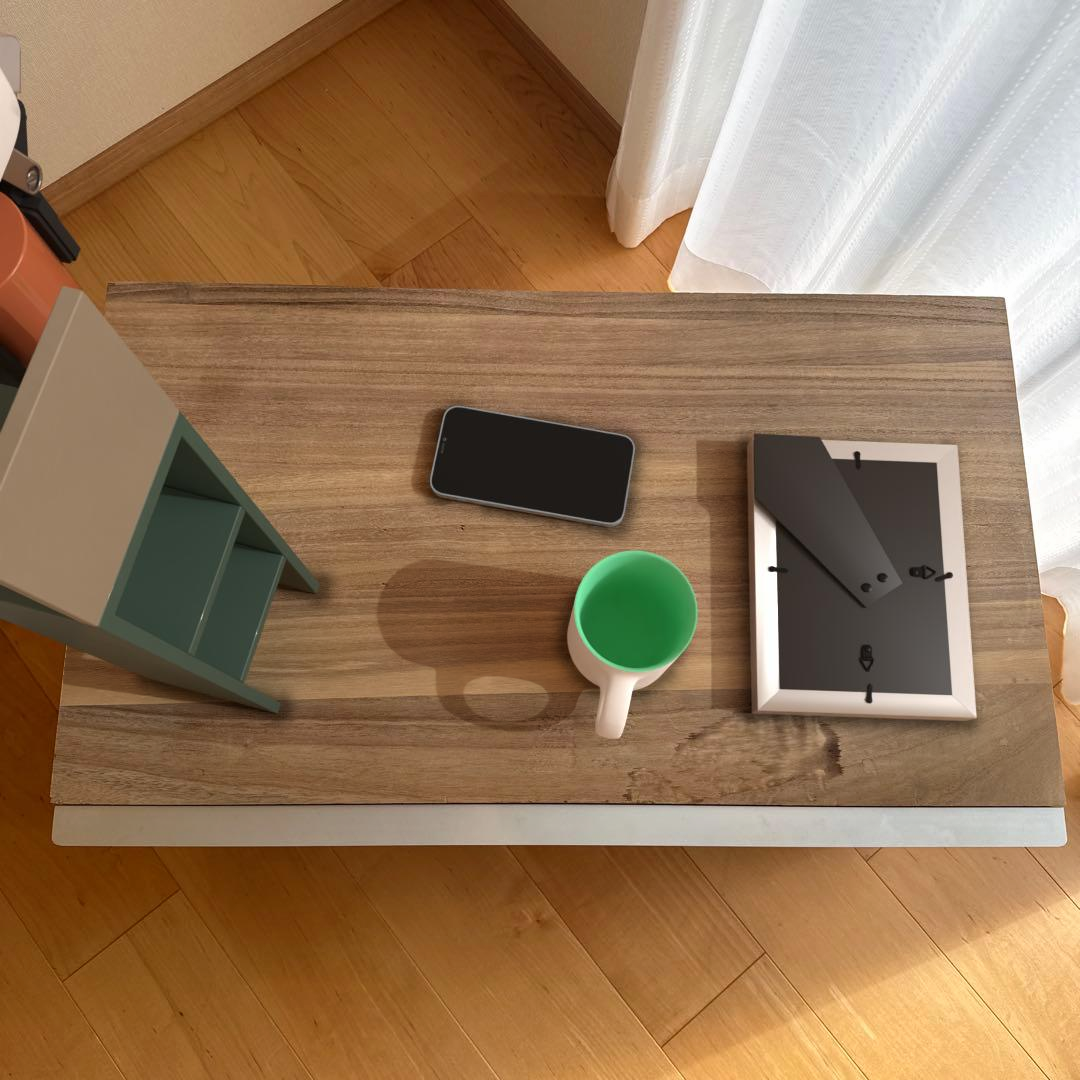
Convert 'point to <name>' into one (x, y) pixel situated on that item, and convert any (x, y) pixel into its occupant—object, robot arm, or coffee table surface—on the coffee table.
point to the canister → (26, 282)
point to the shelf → (129, 519)
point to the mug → (629, 628)
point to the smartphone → (533, 466)
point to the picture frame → (858, 580)
